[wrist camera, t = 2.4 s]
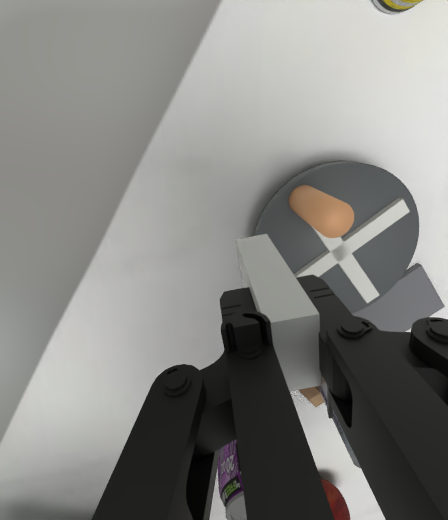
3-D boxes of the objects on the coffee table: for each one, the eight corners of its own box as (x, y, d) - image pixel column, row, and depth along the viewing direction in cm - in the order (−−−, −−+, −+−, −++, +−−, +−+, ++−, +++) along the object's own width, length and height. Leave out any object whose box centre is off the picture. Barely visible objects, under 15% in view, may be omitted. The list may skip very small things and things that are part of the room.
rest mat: (374, 346, 36) (376, 349, 35) (347, 310, 33) (349, 313, 33) (440, 303, 34) (444, 306, 33) (417, 263, 31) (421, 265, 31)
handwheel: (306, 334, 32) (338, 392, 25) (220, 236, 26) (229, 275, 19) (430, 250, 29) (507, 288, 22) (362, 121, 23) (435, 116, 16)
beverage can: (219, 377, 35) (229, 486, 25) (273, 382, 37) (307, 488, 26) (208, 417, 38) (214, 532, 27) (260, 420, 39) (284, 532, 28)
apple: (309, 463, 44) (331, 528, 37) (346, 475, 46) (374, 539, 39) (280, 490, 46) (296, 556, 39) (317, 500, 49) (339, 565, 41)
